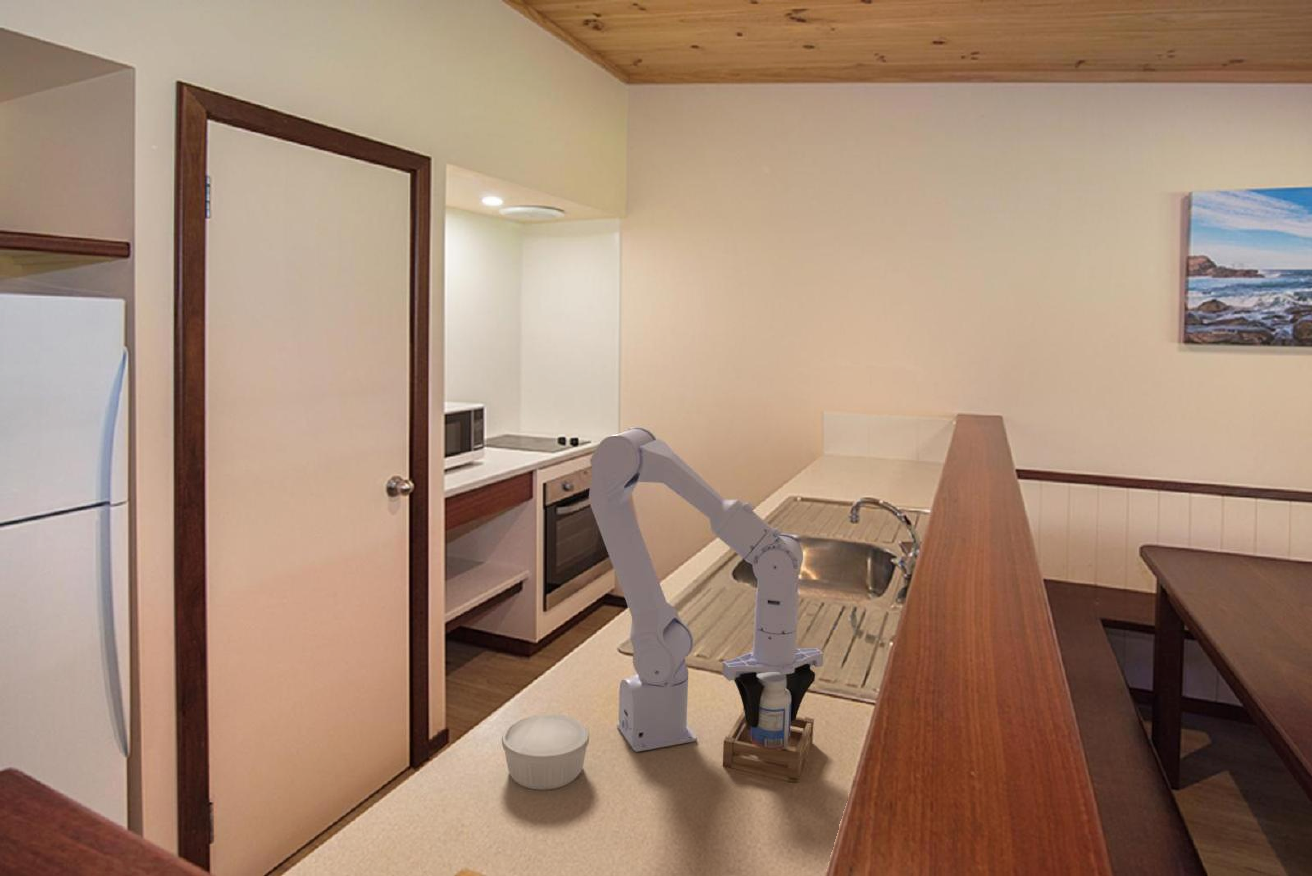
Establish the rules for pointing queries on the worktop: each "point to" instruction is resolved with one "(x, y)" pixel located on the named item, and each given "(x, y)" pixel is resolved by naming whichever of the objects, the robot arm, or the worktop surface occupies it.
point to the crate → (768, 751)
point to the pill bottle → (773, 712)
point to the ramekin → (545, 750)
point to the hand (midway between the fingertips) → (770, 720)
